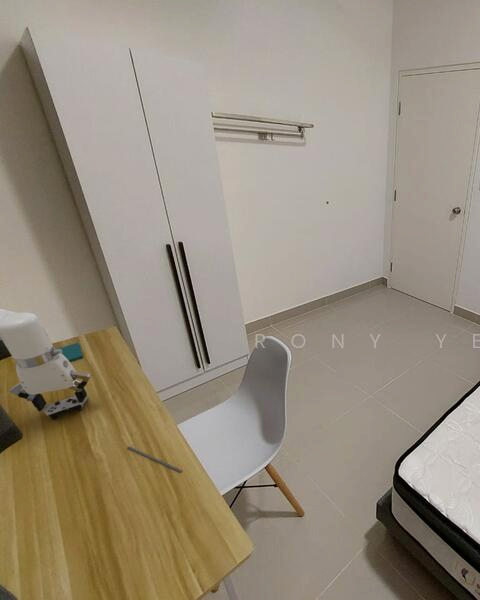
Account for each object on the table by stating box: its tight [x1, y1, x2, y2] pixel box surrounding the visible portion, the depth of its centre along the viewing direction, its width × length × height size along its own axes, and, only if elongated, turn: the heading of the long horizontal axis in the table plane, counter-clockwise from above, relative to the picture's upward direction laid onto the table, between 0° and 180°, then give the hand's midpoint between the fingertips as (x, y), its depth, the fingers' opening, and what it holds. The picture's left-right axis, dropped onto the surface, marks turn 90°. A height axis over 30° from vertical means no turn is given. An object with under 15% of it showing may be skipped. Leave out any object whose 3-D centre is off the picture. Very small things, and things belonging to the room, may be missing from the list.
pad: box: [57, 342, 84, 363], centre depth 118 cm, size 11×11×1 cm
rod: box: [126, 445, 183, 474], centre depth 85 cm, size 1×19×1 cm, turn 70°
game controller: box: [42, 394, 89, 421], centre depth 96 cm, size 10×5×6 cm
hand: (63, 403), depth 96 cm, fingers closed on game controller, 8 cm apart
